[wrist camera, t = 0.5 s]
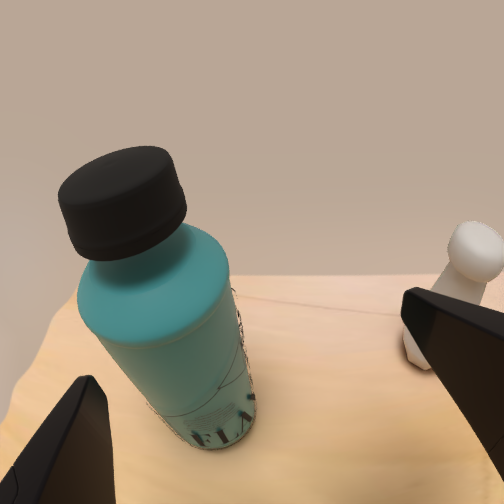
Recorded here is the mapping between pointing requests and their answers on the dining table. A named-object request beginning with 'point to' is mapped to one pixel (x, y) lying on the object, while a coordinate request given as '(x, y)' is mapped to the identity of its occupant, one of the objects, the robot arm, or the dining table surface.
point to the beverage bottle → (159, 294)
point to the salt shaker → (464, 272)
